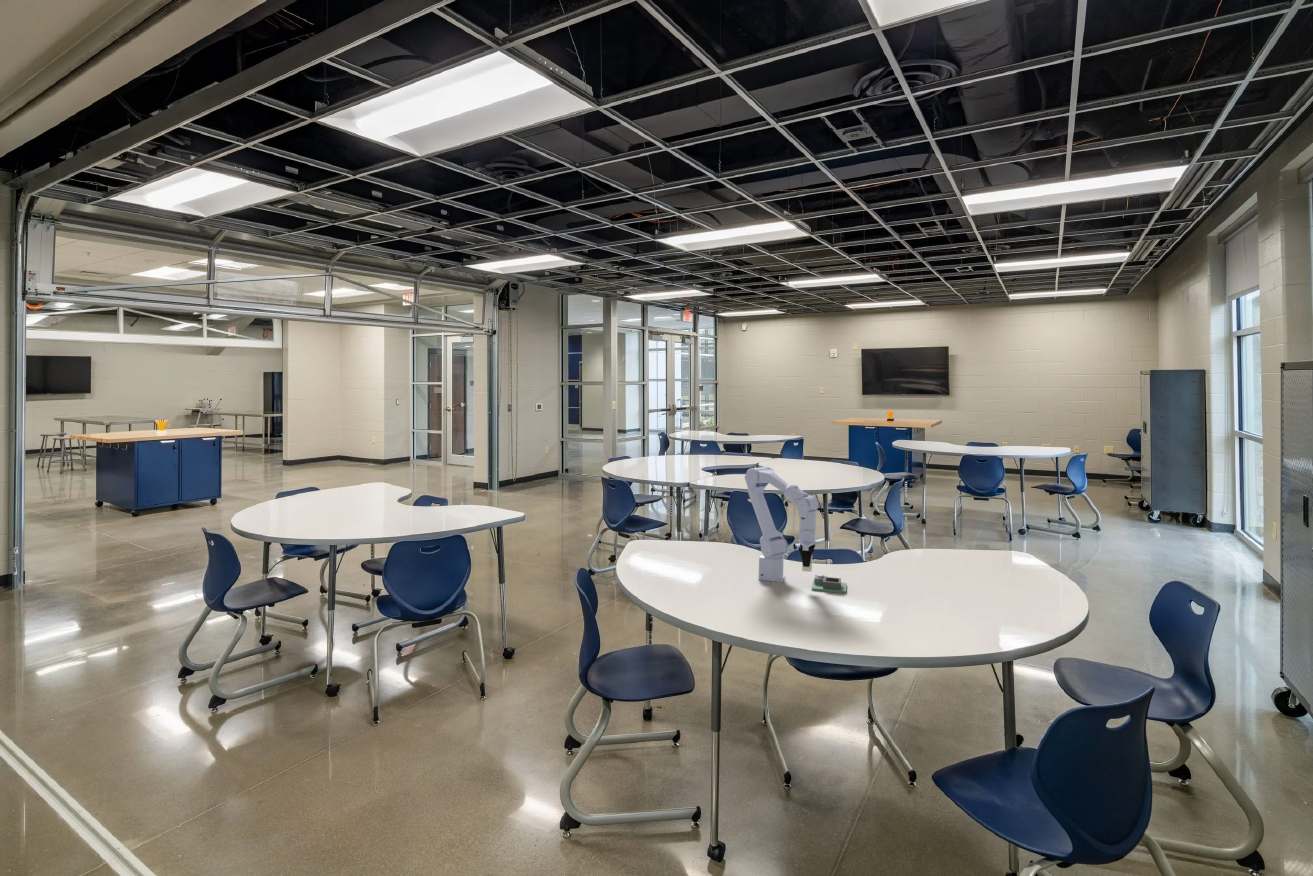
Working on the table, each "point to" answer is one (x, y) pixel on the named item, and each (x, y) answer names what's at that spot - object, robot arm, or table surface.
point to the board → (828, 584)
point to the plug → (807, 567)
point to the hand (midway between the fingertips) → (806, 565)
